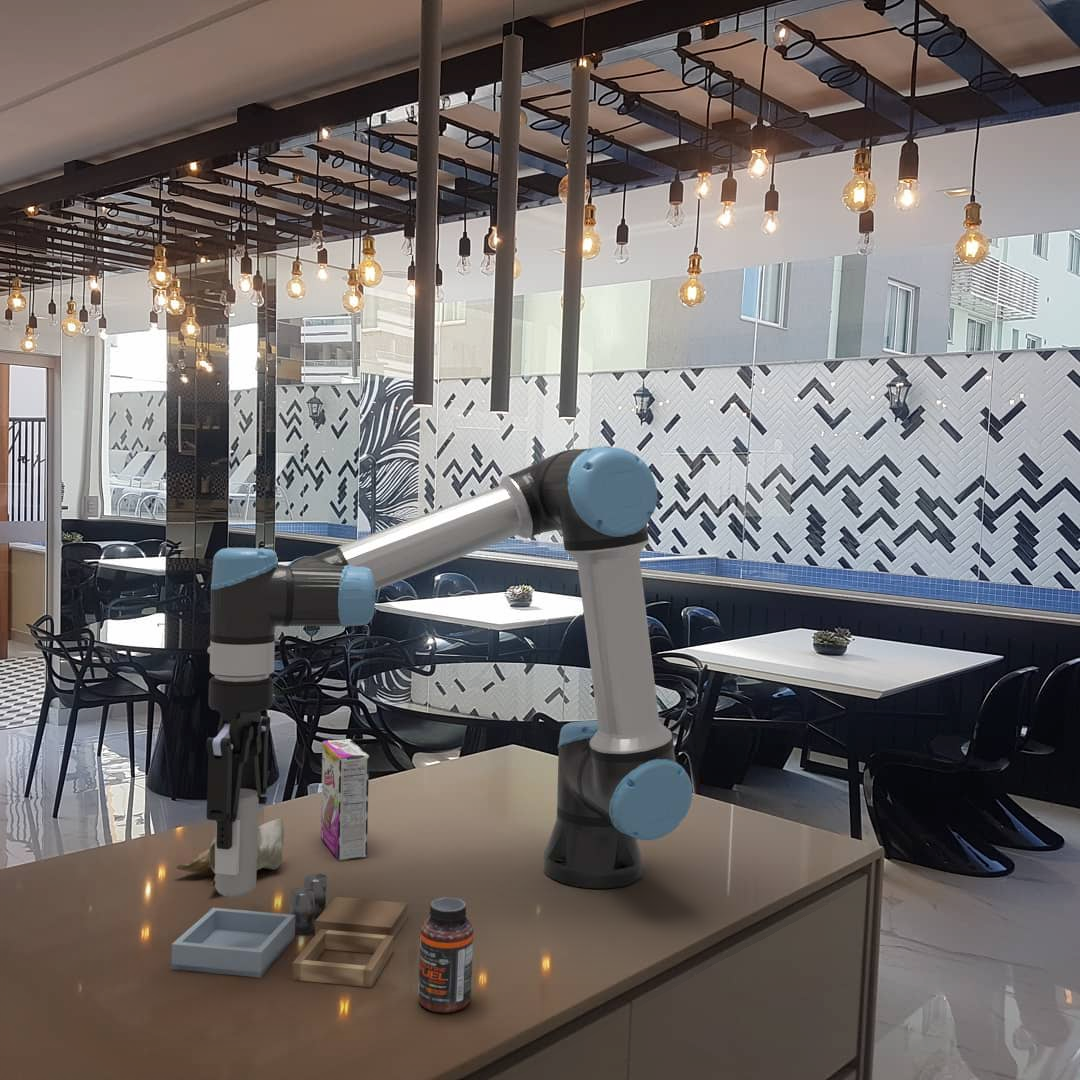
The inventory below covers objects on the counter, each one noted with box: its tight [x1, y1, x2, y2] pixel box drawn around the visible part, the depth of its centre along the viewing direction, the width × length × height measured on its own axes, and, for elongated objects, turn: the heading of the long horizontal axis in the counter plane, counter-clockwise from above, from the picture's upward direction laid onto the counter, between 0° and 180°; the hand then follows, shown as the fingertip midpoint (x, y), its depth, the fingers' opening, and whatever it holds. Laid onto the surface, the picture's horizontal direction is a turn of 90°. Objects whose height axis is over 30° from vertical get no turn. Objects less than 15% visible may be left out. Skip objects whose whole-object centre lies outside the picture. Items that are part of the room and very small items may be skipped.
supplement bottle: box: [417, 896, 474, 1014], centre depth 116 cm, size 6×6×11 cm
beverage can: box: [214, 788, 259, 898], centre depth 126 cm, size 5×5×12 cm
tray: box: [170, 907, 296, 979], centre depth 126 cm, size 11×11×3 cm
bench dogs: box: [289, 873, 328, 936], centre depth 136 cm, size 3×8×5 cm, turn 173°
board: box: [314, 896, 409, 939], centre depth 135 cm, size 10×8×2 cm
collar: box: [291, 929, 395, 988], centre depth 124 cm, size 10×10×2 cm
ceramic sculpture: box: [175, 817, 285, 887], centre depth 151 cm, size 11×9×15 cm
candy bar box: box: [320, 738, 370, 862], centre depth 164 cm, size 11×5×16 cm, turn 26°
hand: (236, 864), depth 126 cm, fingers closed on beverage can, 5 cm apart
